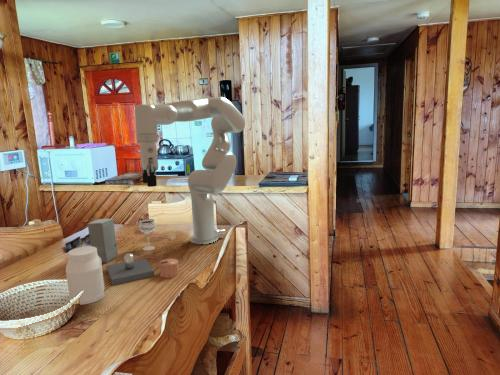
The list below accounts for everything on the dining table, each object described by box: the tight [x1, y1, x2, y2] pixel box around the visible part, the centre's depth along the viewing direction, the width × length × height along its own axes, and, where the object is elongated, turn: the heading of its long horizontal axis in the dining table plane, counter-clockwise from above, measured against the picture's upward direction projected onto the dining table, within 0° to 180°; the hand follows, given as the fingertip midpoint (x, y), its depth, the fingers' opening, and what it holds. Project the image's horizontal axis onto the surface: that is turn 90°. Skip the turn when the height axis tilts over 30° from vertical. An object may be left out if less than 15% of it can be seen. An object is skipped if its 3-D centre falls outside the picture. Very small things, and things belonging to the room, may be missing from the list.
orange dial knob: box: [158, 258, 180, 279], centre depth 133 cm, size 6×6×5 cm
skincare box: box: [87, 218, 118, 264], centre depth 149 cm, size 8×7×16 cm
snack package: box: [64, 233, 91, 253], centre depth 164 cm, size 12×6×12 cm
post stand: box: [106, 252, 155, 286], centre depth 135 cm, size 14×14×7 cm
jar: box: [65, 246, 105, 306], centre depth 118 cm, size 12×10×15 cm
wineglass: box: [138, 218, 156, 251], centre depth 160 cm, size 7×7×12 cm
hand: (149, 184), depth 143 cm, fingers open, 9 cm apart
